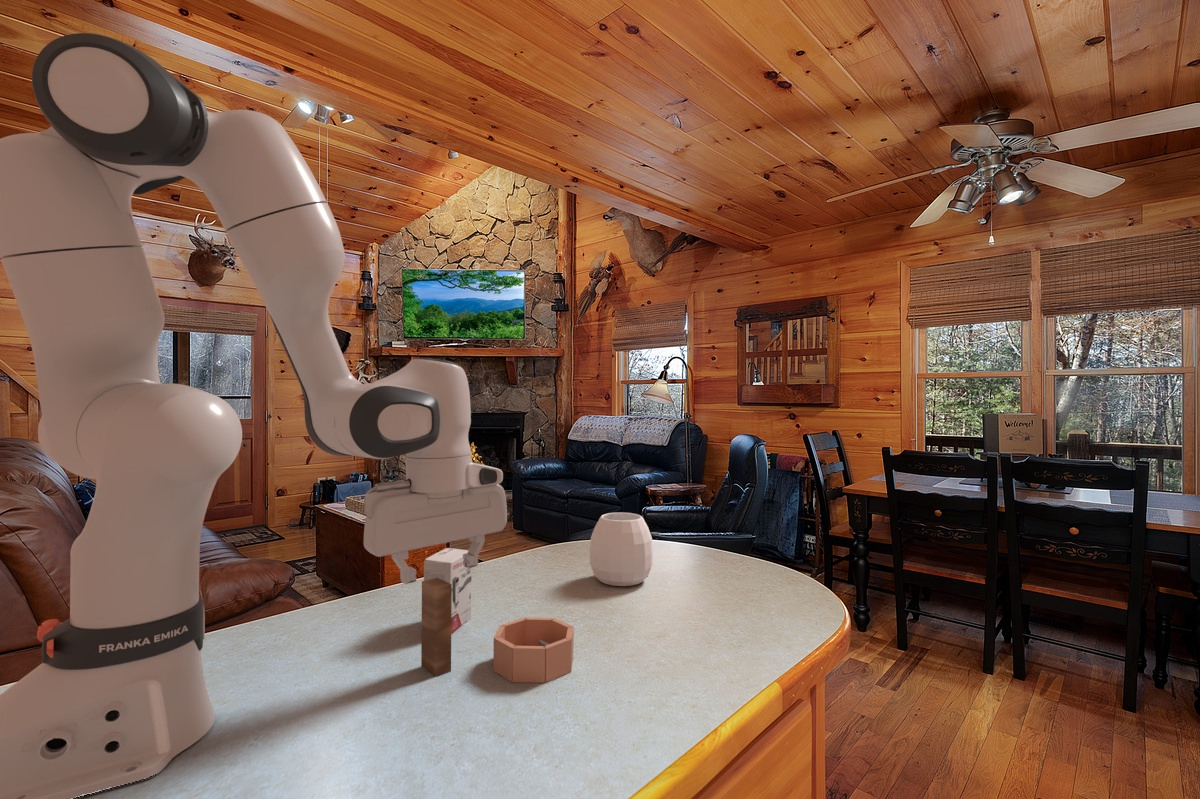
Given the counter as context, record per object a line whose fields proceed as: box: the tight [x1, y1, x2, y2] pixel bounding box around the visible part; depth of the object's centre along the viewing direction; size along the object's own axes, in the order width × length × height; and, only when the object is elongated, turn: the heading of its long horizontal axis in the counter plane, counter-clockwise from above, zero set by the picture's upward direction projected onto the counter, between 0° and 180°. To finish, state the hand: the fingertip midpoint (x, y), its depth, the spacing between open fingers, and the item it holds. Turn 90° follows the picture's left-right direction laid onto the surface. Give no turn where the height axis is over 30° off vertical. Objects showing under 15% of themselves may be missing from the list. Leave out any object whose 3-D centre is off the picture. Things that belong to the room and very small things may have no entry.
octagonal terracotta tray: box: [493, 617, 575, 684], centre depth 82 cm, size 11×11×4 cm
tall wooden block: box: [420, 578, 452, 678], centre depth 80 cm, size 2×4×12 cm, turn 43°
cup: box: [589, 511, 654, 587], centre depth 120 cm, size 13×13×14 cm
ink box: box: [423, 547, 473, 635], centre depth 96 cm, size 9×5×12 cm, turn 168°
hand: (440, 574), depth 81 cm, fingers open, 8 cm apart
